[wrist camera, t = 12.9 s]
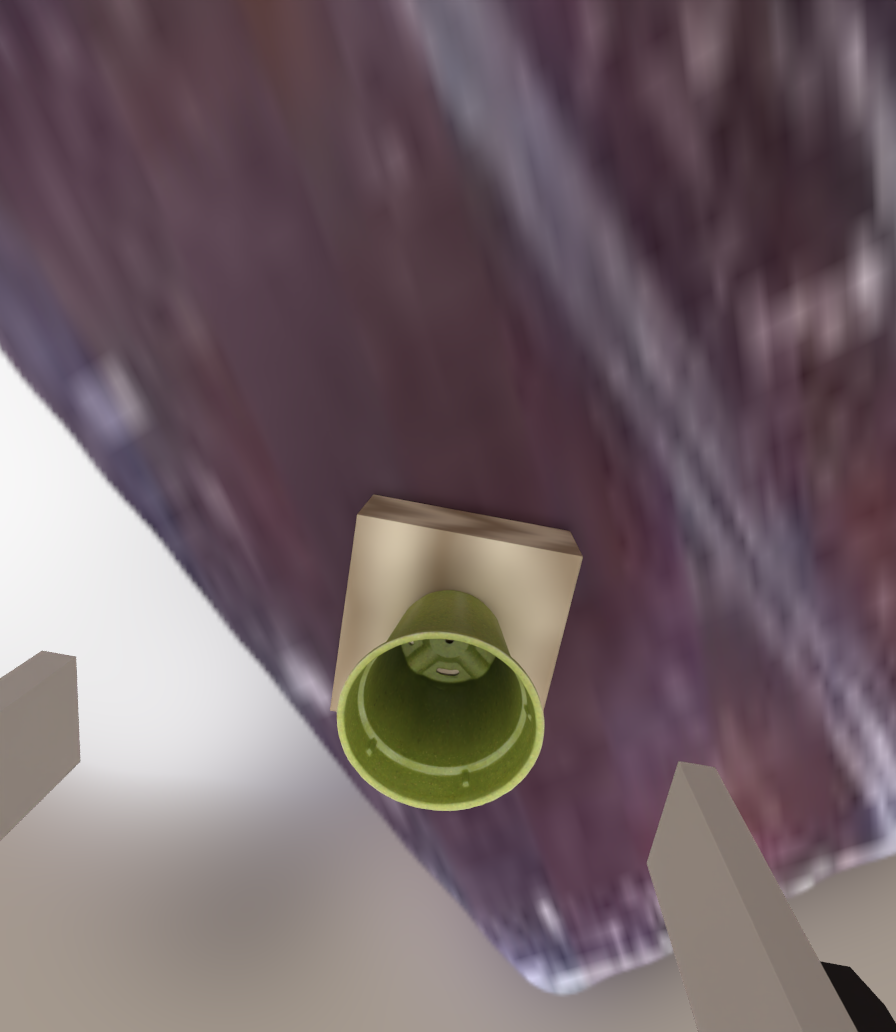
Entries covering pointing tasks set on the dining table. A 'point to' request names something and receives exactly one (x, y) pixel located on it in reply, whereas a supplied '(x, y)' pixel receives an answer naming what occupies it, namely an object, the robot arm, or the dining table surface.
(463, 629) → the plant pot
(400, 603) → the ash block
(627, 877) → the dining table surface
